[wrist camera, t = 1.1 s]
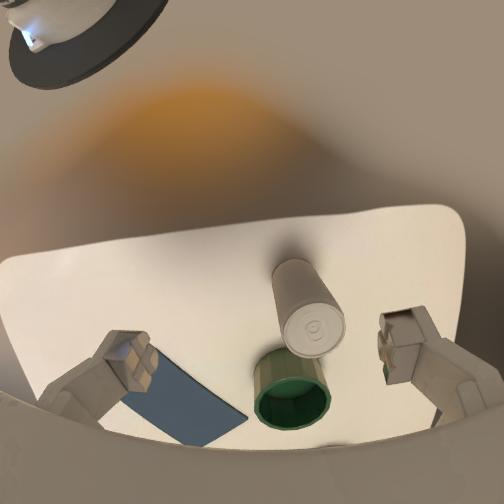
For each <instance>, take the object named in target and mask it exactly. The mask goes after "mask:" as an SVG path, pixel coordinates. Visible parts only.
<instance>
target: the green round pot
mask: <svg viewBox="0 0 504 504" xmlns="http://www.w3.org/2000/svg"><path fill="white" fill-rule="evenodd" d="M330 403H331V395H330V392H329V389H328V386H327V383H326V380H325V377H324V374H323V371H322V369H321V366H320V363H319V361H318V359H317V358H303V357H300V356H298V355H295V354H294V353H293V352H291V351H290V350H289V349H288V348H282V349H278V350H275V351H273V352H271V353H269V354H267V355H266V356H265V357H264V358H262V359H261V361H260V362H259V363H258V365H257V367H256V369H255V373H254V412H255V414H256V415H257V417H258V419H259V420H260V421H261V422H262V423H264V424H265V425H267V426H268V427H270V428H274V429H278V430H298V429H301V428H305V427H308V426H311V425H312V424H314V423H315V422H317V421H318V420H320V419H321V418H322V417H323V416H324V415H325V413H326V412H327V411H328V410H329V408H330Z"/></svg>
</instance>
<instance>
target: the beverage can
mask: <svg viewBox="0 0 504 504" xmlns="http://www.w3.org/2000/svg"><path fill="white" fill-rule="evenodd" d="M272 287H273V292H274V298H275V303H276V309H277V314H278V320H279V325H280V331H281V335H282V339H283V340H284V342H285V344H286V345H287V347H288V349H289V350H290V351H291V352H293V353H294V354H295V355H298V356H300V357H303V358H318V357H322V356H325V355H327V354H329V353H331V352H332V351H333V350H334V349H336V348H337V347H338V345H339V344H340V343H341V341H342V340H343V337H344V335H345V330H346V324H345V319H344V314H343V312H342V310H341V308H340V307H339V305H338V304H337V302H336V301H335V299H334V298H333V296H332V295H331V293H330V292H329V290H328V289H327V287H326V286H325V284H324V283H323V281H322V280H321V278H320V277H319V275H318V274H317V273H316V271H315V270H314V268H313V267H312V266H311V265H310V264H309V263H308V262H306V261H304V260H300V259H291V260H287V261H285V262H283V263H281V264H280V265H279V266H278V267H277V268H276V270H275V272H274V274H273V277H272Z"/></svg>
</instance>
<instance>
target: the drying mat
mask: <svg viewBox="0 0 504 504" xmlns="http://www.w3.org/2000/svg"><path fill="white" fill-rule="evenodd" d="M156 350H157V349H156ZM157 353H158V357H159V361H158V367H157V369H156V371H155V372H154V373H153V374H151V378H152V381H151V383H150V386H149V388H148V390H147V393H139V392H129V391H128V393H127V394H126V395H125V396H124V397H123V398H122V399H121V401H122V402H123V403H125V404H126V405H127V406H128V407H130V408H131V409H132V410H134V411H135V412H136V413H138V414H139V415H140V416H142V417H143V418H145V419H146V420H147V421H149V422H150V423H152V424H153V425H154V426H156V427H157V428H159V429H160V430H162V431H163V432H165V433H166V434H168V435H169V436H171V437H172V438H174V439H176V440H177V441H179V442H180V443H182V444H184V445H189V446H198V447H203V446H205V445H207V444H208V443H210V442H212V441H214V440H215V439H217V438H219V437H221V436H222V435H224V434H226V433H227V432H229V431H231V430H232V429H234V428H235V427H237V426H239V425H240V424H242V423H244V422H245V421H247V420H248V417H246V416H245V415H243V414H242V413H240V412H239V411H238V410H236V409H235V408H233V407H232V406H230V405H229V404H227V403H226V402H224V401H223V400H222V399H220V398H219V397H217V396H216V395H215V394H213V393H212V392H211V391H209V390H208V389H206V388H205V387H204V386H202V385H201V384H200V383H198V382H197V381H196V380H195V379H193V378H192V377H191V376H189V375H188V374H187V373H185V372H184V371H183V370H182V369H180V368H179V367H178V366H177V365H175V364H174V363H173V362H172V361H171V360H169V359H168V358H167V357H166V356H165V355H163V354H162V353H161V352H160V351H159V350H157Z"/></svg>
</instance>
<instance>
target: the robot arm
mask: <svg viewBox="0 0 504 504" xmlns="http://www.w3.org/2000/svg"><path fill="white" fill-rule="evenodd" d="M116 1H117V0H0V5H2V6H4V7H5V8H9V10H8V11H7V13H6V14H5V16H6V18H7V19H8V22H9V23H10V24H11V25H13V26H14V27H16V28H17V29H19V30H21V31H22V33H23V36H24V38H25V40H26V42H27V44H28V47H29V49H30V50H31V51H32V52H33V53H37V52H39V51H41V50H43V49H44V48H46V47H47V46H49V45H52V44H56V43H61V42H64V41H67V40H70V39H72V38H74V37H76V36H78V35H80V34H81V33H83V32H84V31H86V30H87V29H89V28H90V27H91V26H93V25H94V24H95V23H96V22H97V21H99V20H100V19H101V18H102V17H103V16H104V15H105V14H106V13H107V12H108V11H109V10H110V8H111V7H112V6H113V5H114V3H115V2H116ZM379 324H380V327H381V330H380V331H379V332H378V352H379V357H380V360H381V361H383V362H384V366H383V373H384V377H385V380H386V384H387V385H392V384H398V383H404V382H409V381H411V383H412V384H413V385H414V386H415V387H416V388H417V389H418V390H419V391H420V392H422V393H423V394H424V395H425V396H426V397H427V398H428V399H429V400H430V401H431V402H432V403H433V404H434V405H435V406H436V407H437V408H438V409H439V410H440V411H442V412H443V414H442V416H441V417H440V419H439V421H438V422H437V424H436V426H435V427H434V428H430V429H426V430H422V431H418V432H414V433H410V434H406V435H402V436H397V437H392V438H387V439H382V440H376V441H371V442H364V443H358V444H351V445H343V446H334V447H324V448H311V449H293V450H240V449H221V448H209V447H198V446H189V445H181V444H174V443H167V442H161V441H155V440H149V439H144V438H139V437H134V436H130V435H125V434H121V433H116V432H112V431H108V430H105V429H104V428H103V427H102V426H101V425H100V424H99V423H98V420H99V419H101V418H102V417H103V416H104V415H105V414H106V413H107V412H108V411H109V410H110V409H111V408H112V407H113V406H114V405H115V404H116V403H118V402H119V401H120V400H121V399H122V398H123V397H124V396H125V395H126V394H127V393H128V391H129V392H139V393H147V390H148V388H149V386H150V383H151V381H152V378H151V374H153V373H154V372H155V371H156V369H157V367H158V361H159V357H158V353H157V350H156V349H155V347H154V346H152V345H151V344H150V343H149V342H150V337H149V336H148V334H147V332H144V331H130V330H112V331H110V332H109V333H108V334H107V336H106V337H105V339H104V340H103V342H102V343H101V345H100V346H99V348H98V349H97V351H96V352H95V354H94V356H93V357H92V358H88V359H86V360H85V361H83V362H82V363H80V364H79V365H77V366H76V367H74V368H73V369H71V370H70V371H68V372H67V373H65V374H64V375H62V376H61V377H59V378H58V379H56V380H55V381H53V382H52V383H50V384H49V385H48V386H47V387H46V389H45V390H44V392H43V394H42V395H41V397H40V398H39V400H38V402H37V403H36V405H35V406H32V405H30V404H28V403H25V402H23V401H21V400H19V399H16V398H14V397H12V396H10V395H8V394H5V393H4V392H2V391H0V504H504V382H503V380H502V378H501V376H500V374H499V372H498V370H497V369H496V368H494V367H492V366H491V365H489V364H488V363H486V362H485V361H483V360H481V359H480V358H478V357H476V356H475V355H473V354H472V353H469V352H468V351H467V350H465V349H463V348H462V347H460V346H458V345H457V344H455V343H453V342H452V341H450V340H449V339H447V338H441V336H440V334H439V332H438V330H437V328H436V327H435V325H434V323H433V321H432V319H431V317H430V315H429V313H428V311H427V309H426V308H425V307H424V306H418V307H413V308H409V309H403V310H397V311H392V312H386V313H381V314H380V319H379Z"/></svg>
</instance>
